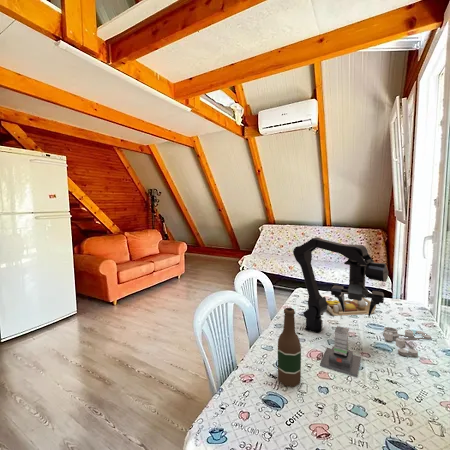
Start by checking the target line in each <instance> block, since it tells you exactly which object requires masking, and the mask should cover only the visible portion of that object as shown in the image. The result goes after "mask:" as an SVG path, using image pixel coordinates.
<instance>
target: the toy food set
mask: <svg viewBox="0 0 450 450" xmlns="http://www.w3.org/2000/svg"><path fill="white" fill-rule="evenodd" d="M326 302H327V304H328V306H327V310H326V311H328V312H329V313H330V314H331V315H332V316H334V317H342V316H343V317H344V316H363V315H364V316H365V315H367V316H368V313H369V308H370V303H371V300H369V299H368V298H362V300H361V301H357V300H353V299H352V300H351V299H344V302H345V312H343V310H342V307H341V304H340V302H339V300H336V299H335V300H326ZM376 309H377V304H376V305H375V307H374V308H373V310H372V312H371V315H372V314H374V312H375V311H376Z"/></svg>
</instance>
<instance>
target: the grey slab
mask: <svg viewBox="0 0 450 450" xmlns="http://www.w3.org/2000/svg"><path fill="white" fill-rule="evenodd" d="M349 330H350V328H347V327H344V326H339V325H337V326H336V328H335V330H334V332H333V334H334V338H333V339H334V343H333V344H334V345H333V346H334V353H338V354H341V355H345V356H346V355H347V352H348V350H349Z"/></svg>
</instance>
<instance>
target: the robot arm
mask: <svg viewBox="0 0 450 450" xmlns="http://www.w3.org/2000/svg"><path fill="white" fill-rule="evenodd" d="M316 249H320V250H324V251H328V252H333V253H336V254H340V255H342V256H343V257H344V258H346V259H347V260H346V261H345V262H344V263H343V264H344V265H346V266H348V265H349V272H348V276H349V278H348V280H349V281H348V286H347V289H345V288H344V286H342V285H333V286H332V287H331V288H330V289H331V290H330V295H332V296H334V298H336V299H338V300H337V301H339V302H340V304H341V307H342V310H343V312H345V302H344V300H345V295H347V300H350V301H353V300H357V301H361V300H362V298H365V299H370V301H371V303H370V308H369V313H368V314H367V316H368V318H370V317H371V315H372V314H371V312H372V310H373V308H374V307H375V305H376V306H378V305H380V304H384V300H385V294H384V292H383V291H378V290H372V292H369V288H366V278H367V279H368V280H373V281H377V282H383V283H386V282H387V280H388V278H389V270H388V267H387V263H385V262H374V261H375V260H373V258H372V257H371V255H370V254H369V251H368V248H366V246H364V245H362V244H345V243H340V242H336V241H332V240H328V239H324V238H320V237H313V238H310V239H309V240H308V241H306V242H304V243H302V244H300V245H298V246H296V247H293V250H292V252H293V253H292V254H293V257H294V259H295V261H296V262H297V263H298V264H299V265H300V268H301V272H302V276H303V280H304V284H305V287H306V291H307V295H308V299H307V309H306V310H305V311H303V317H304V318H305V328H304V331H306V332H307V331H308V332H312V333H316V334H320V333H321V331H322V330H323V319H322V316H323V315H324V313H326V312H327V311H328V310H327V306H328V304H327V302H326V301H327V298H326V296H322V295H321V294H320V290H319V287H318V283H317V280H316V277H315V276H316V275H315V272H314V270H313V266H312V258H313V254H312V252H314V251H315V250H316Z"/></svg>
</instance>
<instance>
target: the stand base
mask: <svg viewBox="0 0 450 450" xmlns="http://www.w3.org/2000/svg"><path fill="white" fill-rule="evenodd" d="M361 361H362V356H360V355H355V354H354V351H352V350H349V349H348V352H347V355H346V356H345V355H341V354H338V353H334V345H332V347H331V348H329V347H326V349H325V351H324V353H323V356H322V358H321V360H320V362H319V366H320V367H323V368H326V369H329V370H332V371H335V372H339V373H342V374H345V375H348V376H351V377H355V378H358V376H359V372H360V371H359V370H360V365H361Z"/></svg>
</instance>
